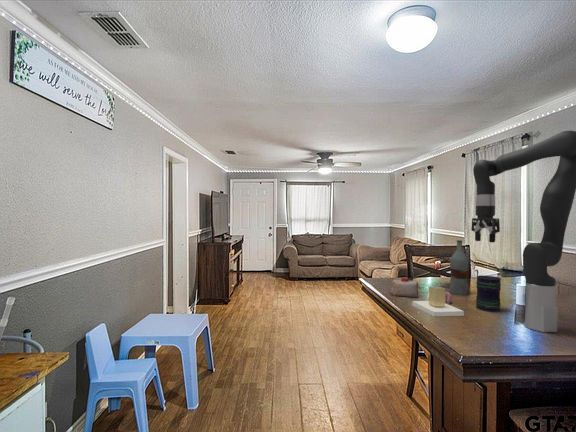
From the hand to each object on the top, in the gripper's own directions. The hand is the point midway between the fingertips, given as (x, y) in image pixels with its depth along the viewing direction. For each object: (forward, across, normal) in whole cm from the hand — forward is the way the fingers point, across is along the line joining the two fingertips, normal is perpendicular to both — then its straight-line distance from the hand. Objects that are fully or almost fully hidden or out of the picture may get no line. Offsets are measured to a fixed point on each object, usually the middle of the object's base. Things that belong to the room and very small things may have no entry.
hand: (484, 241), depth 147 cm
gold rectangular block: (+30, +7, +18) cm, 35 cm away
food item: (+32, +35, +19) cm, 51 cm away
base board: (+32, +7, +18) cm, 37 cm away
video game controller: (+32, +22, +6) cm, 40 cm away
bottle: (+32, +38, -15) cm, 52 cm away
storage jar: (+32, +7, -8) cm, 34 cm away
